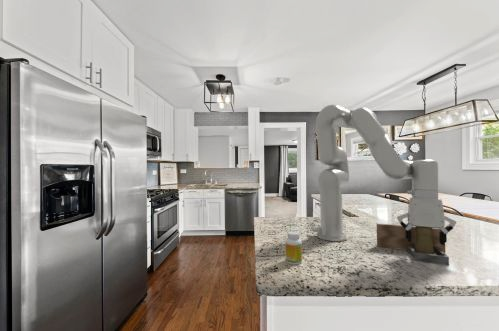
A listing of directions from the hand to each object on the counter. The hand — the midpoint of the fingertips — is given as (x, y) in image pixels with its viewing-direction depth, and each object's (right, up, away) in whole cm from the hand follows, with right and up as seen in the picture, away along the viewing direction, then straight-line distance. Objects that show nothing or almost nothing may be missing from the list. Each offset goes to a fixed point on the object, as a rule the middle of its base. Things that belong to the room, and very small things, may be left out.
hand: (425, 242), depth 84 cm
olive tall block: (0, -5, 0) cm, 5 cm away
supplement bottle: (-48, -5, -4) cm, 48 cm away
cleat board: (-3, -5, +2) cm, 6 cm away
